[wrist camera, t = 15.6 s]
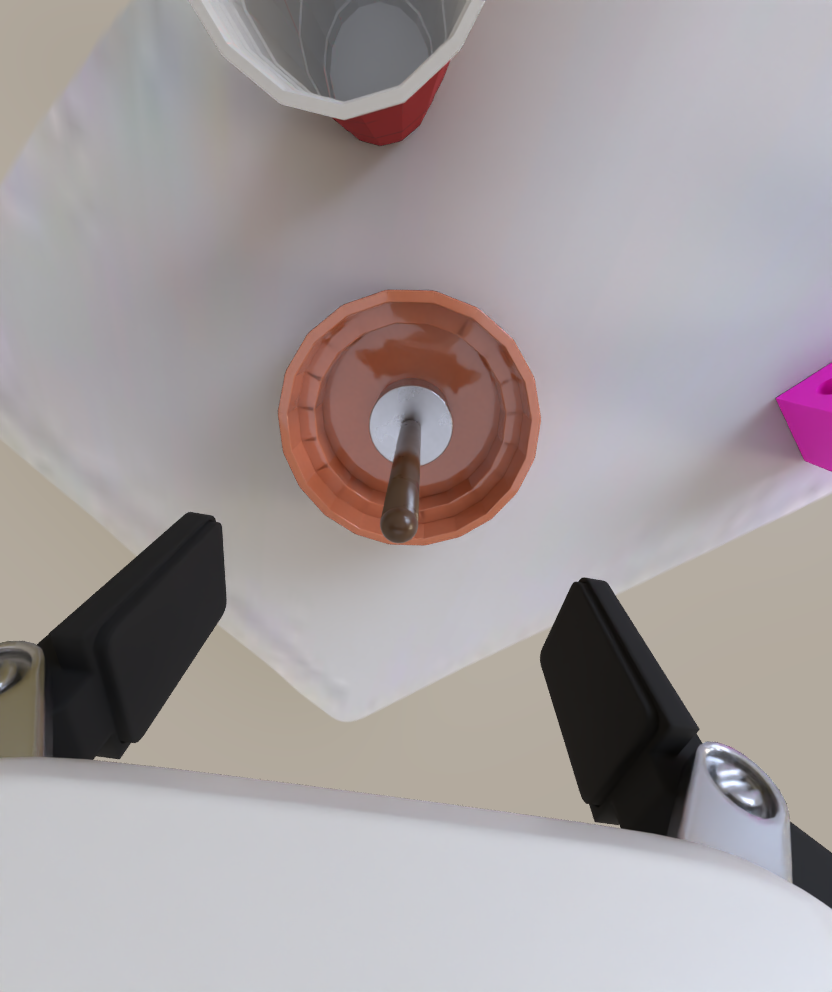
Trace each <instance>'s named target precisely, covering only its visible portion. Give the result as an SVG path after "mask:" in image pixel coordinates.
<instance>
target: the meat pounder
mask: <svg viewBox="0 0 832 992" xmlns="http://www.w3.org/2000/svg"><path fill="white" fill-rule="evenodd" d="M369 432H370V437H371V440H372V442H373V444H374V446H375V447H376V449H377V450H378V452H379V453H380V454H381V455H382V456H383V457H384V458H386V459H387V460H389V461H390V462H392V463H393V464H392V468H391V473H390V478H389V482H388V487H387V492H386V497H385V501H384V506H383V511H382V515H381V520H380V528H381V531H382V534H383V535H384V537H385V538H386V539H388V540H389V541H391V542H393V543H405V542H407V541H409V540H411V539H412V538H413V537H414V536H415V534H416V532H417V529H418V516H419V485H420V466H422V465H426V464H428V463H430V462H432V461H434V460H435V459H437V458H438V457H439V456H440V455H441V454H442V453H443V452H444V451H445V450H446V448H447V446H448V445H449V442H450V440H451V437H452V432H453V421H452V416H451V412H450V408H449V404H448V402H447V399H446V398H445V396H444V395H443V393H442V392H441V391H440V390H439V389H438V388H437V387H436V386H435V385H433V384H431V383H430V382H428V381H425V380H422V379H417V378H407V379H402V380H398V381H396V382H394V383H392V384H391V385H389V386H388V387H387V388H385V389H384V391H383V392H382V393H381V394H380V396H379V397H378V399H377V401H376V403H375V405H374V407H373V409H372V411H371V414H370V419H369Z"/></svg>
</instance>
